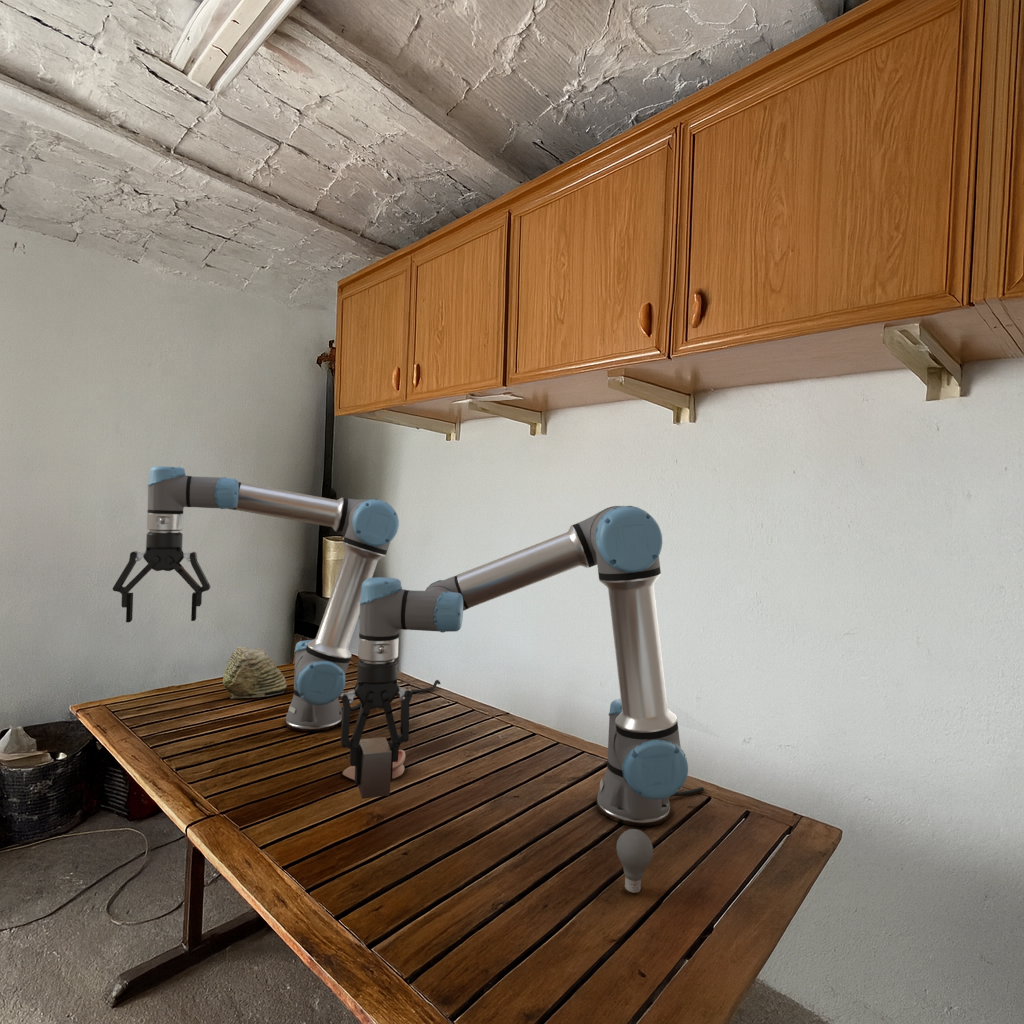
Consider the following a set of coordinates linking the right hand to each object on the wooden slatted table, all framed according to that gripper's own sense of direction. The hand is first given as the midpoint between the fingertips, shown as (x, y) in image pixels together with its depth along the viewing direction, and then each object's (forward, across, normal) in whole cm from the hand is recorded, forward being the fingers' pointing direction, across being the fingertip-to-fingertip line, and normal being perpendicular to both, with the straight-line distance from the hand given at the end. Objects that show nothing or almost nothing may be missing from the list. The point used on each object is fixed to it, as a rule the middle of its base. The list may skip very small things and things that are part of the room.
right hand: (373, 779), depth 121 cm
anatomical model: (+10, +4, +25) cm, 27 cm away
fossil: (+10, -24, +91) cm, 94 cm away
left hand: (-22, -44, +48) cm, 69 cm away
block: (+2, 0, 0) cm, 2 cm away
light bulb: (+10, +39, -31) cm, 51 cm away
